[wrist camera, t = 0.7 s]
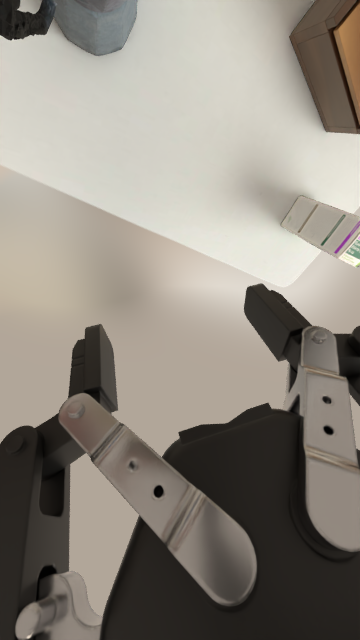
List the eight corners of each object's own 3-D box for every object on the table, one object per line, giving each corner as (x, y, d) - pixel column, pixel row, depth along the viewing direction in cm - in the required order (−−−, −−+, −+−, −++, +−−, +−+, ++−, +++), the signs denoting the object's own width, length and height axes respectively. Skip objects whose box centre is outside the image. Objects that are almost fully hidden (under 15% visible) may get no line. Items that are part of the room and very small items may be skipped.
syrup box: (279, 225, 43) (335, 261, 32) (300, 193, 39) (370, 220, 29) (299, 235, 45) (357, 270, 35) (320, 205, 42) (392, 234, 31)
